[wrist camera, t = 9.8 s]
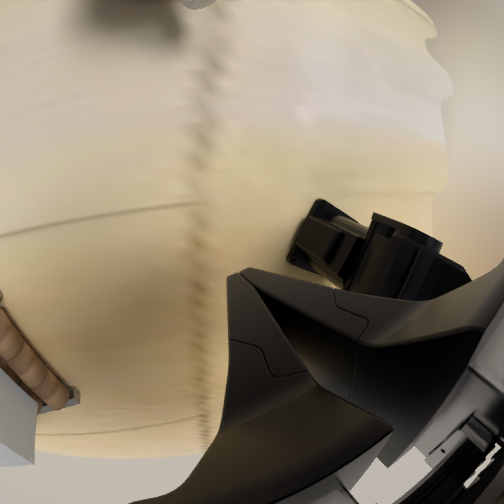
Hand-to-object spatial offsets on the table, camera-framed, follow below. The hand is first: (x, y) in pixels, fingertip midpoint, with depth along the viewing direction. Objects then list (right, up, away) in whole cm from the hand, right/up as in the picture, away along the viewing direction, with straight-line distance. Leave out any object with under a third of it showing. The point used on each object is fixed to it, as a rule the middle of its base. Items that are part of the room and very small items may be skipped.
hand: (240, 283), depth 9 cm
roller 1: (-20, -8, +8) cm, 23 cm away
